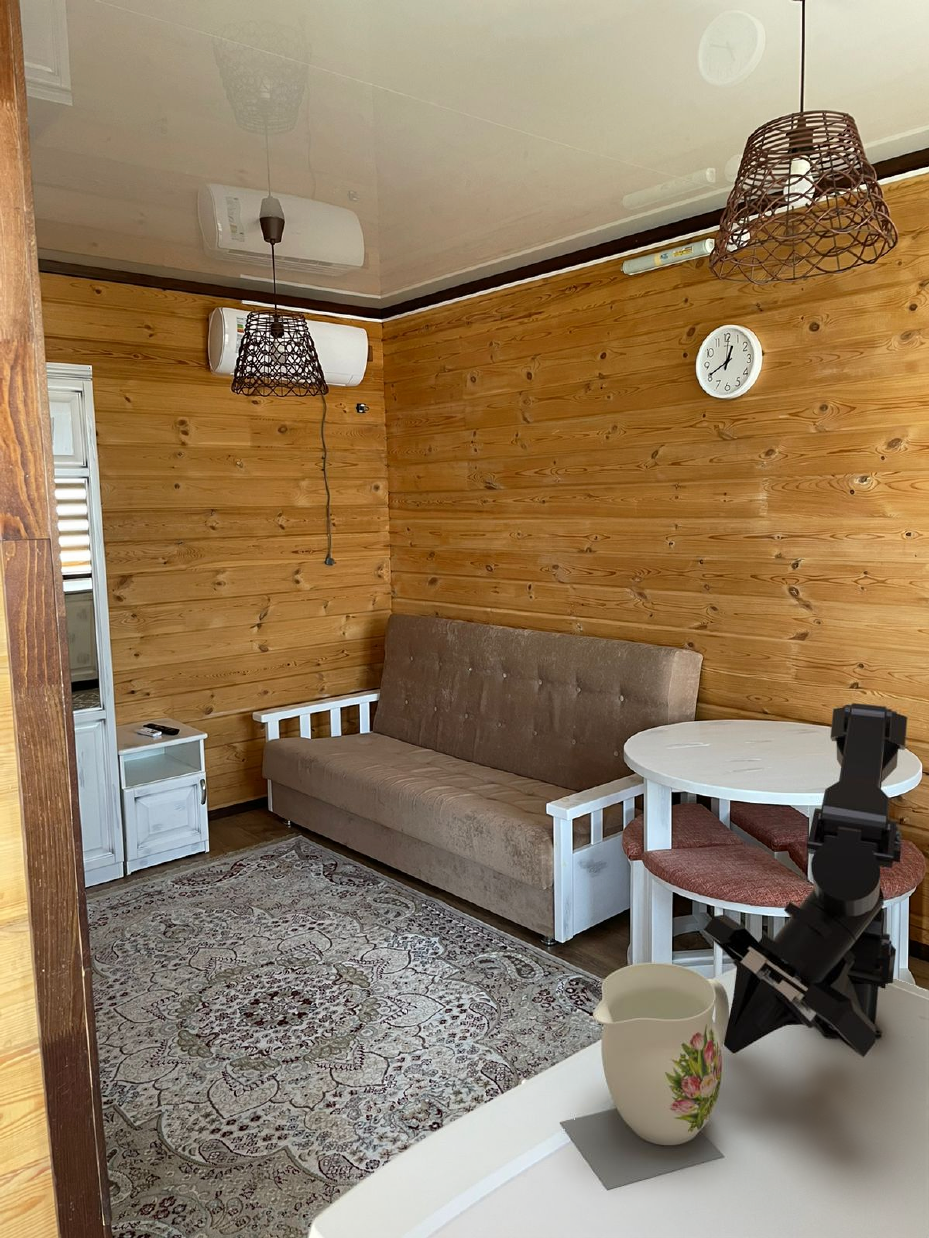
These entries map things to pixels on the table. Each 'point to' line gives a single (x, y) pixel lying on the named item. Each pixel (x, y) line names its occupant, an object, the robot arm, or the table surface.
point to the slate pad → (631, 1150)
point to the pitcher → (662, 1048)
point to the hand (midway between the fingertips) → (728, 1049)
